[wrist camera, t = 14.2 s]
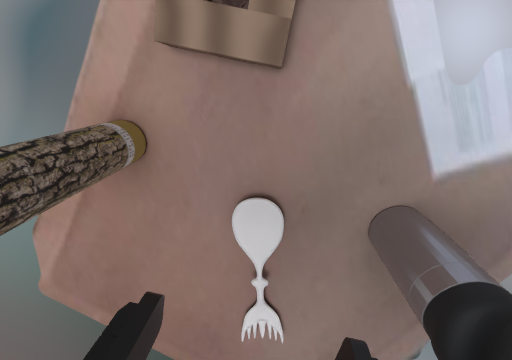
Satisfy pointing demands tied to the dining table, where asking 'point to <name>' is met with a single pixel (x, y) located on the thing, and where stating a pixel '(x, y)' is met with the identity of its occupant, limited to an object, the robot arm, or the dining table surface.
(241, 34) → the hole block
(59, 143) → the paper tube
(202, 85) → the dining table surface
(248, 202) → the spoon
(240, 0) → the long pin
